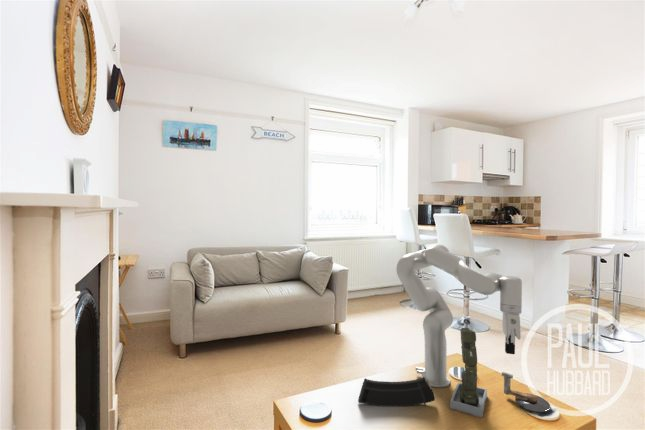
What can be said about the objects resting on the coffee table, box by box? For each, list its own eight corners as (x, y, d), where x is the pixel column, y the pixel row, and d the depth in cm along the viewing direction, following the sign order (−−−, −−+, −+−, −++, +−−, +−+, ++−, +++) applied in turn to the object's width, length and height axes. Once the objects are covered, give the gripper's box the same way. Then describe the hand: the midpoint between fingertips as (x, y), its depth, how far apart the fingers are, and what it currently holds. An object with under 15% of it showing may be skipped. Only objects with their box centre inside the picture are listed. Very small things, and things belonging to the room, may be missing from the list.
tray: (450, 408, 138) (450, 400, 138) (457, 389, 152) (457, 382, 152) (482, 417, 132) (482, 409, 132) (487, 396, 146) (487, 389, 146)
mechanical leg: (483, 413, 132) (479, 331, 138) (463, 411, 134) (460, 329, 140) (476, 402, 145) (472, 327, 151) (457, 400, 147) (455, 326, 153)
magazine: (352, 384, 140) (424, 363, 139) (352, 380, 143) (422, 359, 142) (365, 424, 140) (437, 403, 139) (364, 419, 144) (434, 399, 143)
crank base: (514, 408, 138) (514, 404, 138) (515, 393, 148) (515, 390, 148) (550, 417, 132) (550, 413, 132) (549, 401, 142) (549, 397, 142)
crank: (537, 399, 140) (538, 379, 140) (537, 403, 138) (537, 383, 137) (502, 389, 148) (502, 370, 148) (501, 393, 145) (501, 374, 145)
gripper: (526, 314, 131) (525, 362, 131) (516, 303, 145) (516, 346, 145) (503, 312, 133) (503, 359, 133) (496, 301, 147) (496, 344, 148)
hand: (509, 352), depth 139 cm, fingers closed
